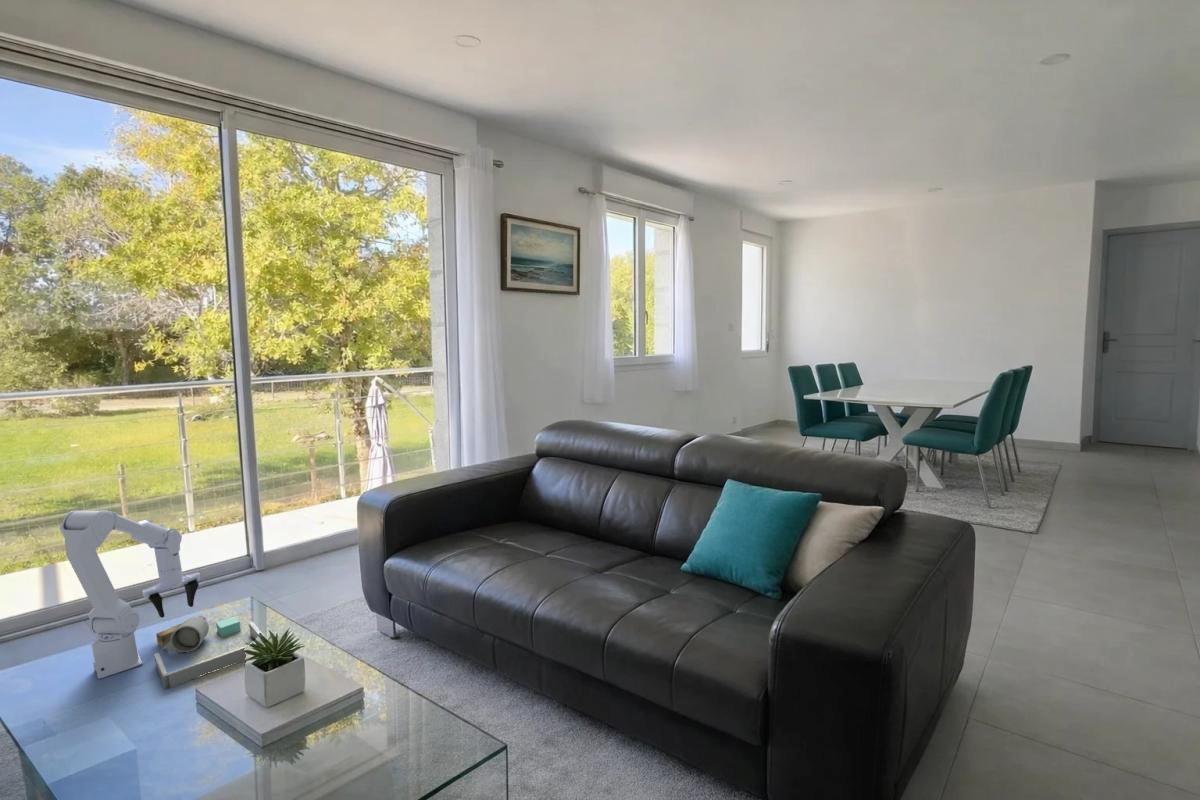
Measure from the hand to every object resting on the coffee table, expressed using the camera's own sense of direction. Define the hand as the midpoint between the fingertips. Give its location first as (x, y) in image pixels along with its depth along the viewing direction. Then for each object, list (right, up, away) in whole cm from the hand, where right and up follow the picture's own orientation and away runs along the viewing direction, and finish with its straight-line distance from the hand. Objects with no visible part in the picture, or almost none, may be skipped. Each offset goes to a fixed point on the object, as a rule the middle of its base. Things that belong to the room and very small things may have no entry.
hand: (176, 611), depth 191 cm
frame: (+21, -7, -17) cm, 28 cm away
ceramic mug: (+10, -7, -10) cm, 16 cm away
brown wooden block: (+4, -6, -4) cm, 8 cm away
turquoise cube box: (+17, -5, -2) cm, 18 cm away
